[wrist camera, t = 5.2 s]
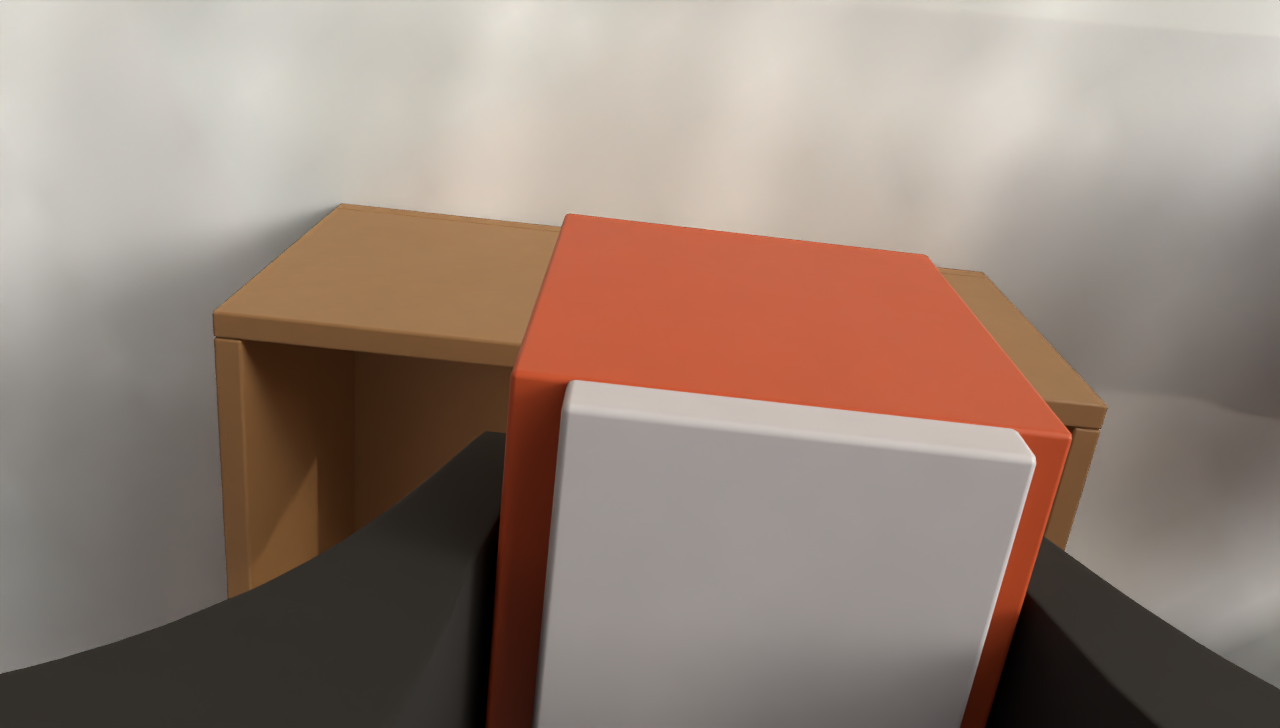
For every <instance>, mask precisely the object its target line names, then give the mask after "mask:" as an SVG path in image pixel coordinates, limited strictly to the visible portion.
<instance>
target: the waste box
mask: <svg viewBox="0 0 1280 728" xmlns="http://www.w3.org/2000/svg"><path fill="white" fill-rule="evenodd" d="M560 229H561V227H556V226H547V225H538V224H528V223H519V222H510V221H501V220H491V219H482V218H473V217H463V216H454V215H445V214H435V213H426V212H417V211H407V210H398V209H389V208H380V207H370V206H361V205H352V204H340V205H339V206H338V207H337V208H336V209H334V210H333V211H332V212H331V213H329V214H328V215H327V216H326V217H325V218H323V219H322V220H321V221H320V222H319V223H318V224H316V225H315V226H314V227H313V228H312V229H310V230H309V231H308V232H307V233H306V234H304V235H303V236H302V237H301V238H300V239H299V240H297V241H296V242H295V243H294V244H293V245H291V246H290V247H289V248H288V249H287V250H286V251H284V252H283V253H282V254H281V255H280V256H278V257H277V258H276V259H275V260H274V261H272V262H271V263H270V264H269V265H268V266H267V267H265V268H264V269H263V270H262V271H261V272H259V273H258V274H257V275H256V276H255V277H254V278H252V279H251V280H250V281H249V282H248V283H246V284H245V285H244V286H243V287H242V288H240V289H239V290H238V291H237V292H236V293H235V294H233V295H232V296H231V297H230V298H229V299H227V300H226V301H225V302H224V303H223V304H222V305H220V306H219V307H218V308H217V309H216V310H214V311H213V330H214V336H216V337H215V339H214V349H215V367H216V386H217V405H218V424H219V443H220V461H221V480H222V499H223V518H224V536H225V555H226V574H227V593H228V599H230V598H232V597H235V596H237V595H239V594H242V593H244V592H247V591H249V590H252V589H254V588H256V587H258V586H260V585H262V584H264V583H266V582H268V581H270V580H272V579H274V578H276V577H278V576H280V575H282V574H284V573H286V572H288V571H290V570H292V569H293V568H295V567H297V566H299V565H301V564H303V563H305V562H307V561H309V560H311V559H312V558H314V557H316V556H318V555H319V554H321V553H323V552H325V551H326V550H328V549H330V548H331V547H333V546H335V545H336V544H338V543H340V542H341V541H343V540H344V539H346V538H347V537H349V536H350V535H352V534H353V533H355V532H356V531H358V530H359V529H361V528H362V527H364V526H365V525H367V524H368V523H370V522H371V521H372V520H374V519H375V518H377V517H378V516H380V515H381V514H383V513H384V512H386V511H387V510H388V509H390V508H391V507H392V506H394V505H395V504H396V503H398V502H399V501H400V500H401V499H403V498H404V497H405V496H407V495H408V494H409V493H410V492H412V491H413V490H414V489H416V488H417V487H418V486H419V485H421V484H422V483H423V482H425V481H426V480H427V479H428V478H429V477H431V476H432V475H433V474H434V473H435V472H437V471H438V470H439V469H440V468H441V467H443V466H444V465H445V464H446V463H447V462H449V461H450V460H451V459H452V458H453V457H454V456H456V455H457V454H458V453H459V452H460V451H461V450H462V449H464V448H465V447H466V446H467V445H468V444H470V443H471V442H472V441H473V440H475V439H476V438H477V437H478V436H480V435H481V434H482V433H484V432H485V431H491V432H500V433H506V429H507V415H508V401H509V387H510V375H511V372H512V369H513V366H514V364H515V361H516V358H517V355H518V352H519V349H520V346H521V343H522V340H523V337H524V334H525V331H526V329H527V326H528V323H529V320H530V317H531V314H532V311H533V308H534V305H535V302H536V299H537V296H538V294H539V291H540V288H541V285H542V282H543V279H544V276H545V273H546V270H547V267H548V264H549V262H550V259H551V256H552V253H553V250H554V247H555V244H556V241H557V238H558V235H559V232H560ZM936 268H937V269H938V270H939V271H940V273H941V274H942V275H943V276H944V278H945V279H946V280H947V281H948V283H949V284H950V285H951V286H952V287H953V289H954V290H955V291H956V292H957V294H958V295H959V296H960V297H961V299H962V300H963V301H964V302H965V303H966V305H967V306H968V307H969V308H970V310H971V311H972V312H973V313H974V315H975V316H976V317H977V318H978V320H979V321H980V322H981V323H982V324H983V326H984V327H985V328H986V329H987V331H988V332H989V333H990V334H991V336H992V337H993V338H994V339H995V340H996V342H997V343H998V344H999V345H1000V347H1001V348H1002V349H1003V350H1004V352H1005V353H1006V354H1007V355H1008V356H1009V358H1010V359H1011V360H1012V361H1013V363H1014V364H1015V365H1016V366H1017V368H1018V369H1019V370H1020V371H1021V372H1022V374H1023V375H1024V376H1025V377H1026V379H1027V380H1028V381H1029V382H1030V384H1031V385H1032V386H1033V387H1034V388H1035V390H1036V391H1037V392H1038V393H1039V395H1040V396H1041V397H1042V398H1043V400H1044V401H1045V402H1046V403H1047V405H1048V406H1049V407H1050V408H1051V409H1052V411H1053V412H1054V413H1055V414H1056V416H1057V417H1058V418H1059V419H1060V421H1061V422H1062V423H1063V424H1064V425H1065V427H1066V428H1067V429H1068V430H1069V432H1070V433H1071V435H1072V442H1071V445H1070V448H1069V452H1068V455H1067V458H1066V462H1065V465H1064V468H1063V472H1062V475H1061V478H1060V481H1059V485H1058V488H1057V491H1056V495H1055V498H1054V501H1053V505H1052V508H1051V511H1050V515H1049V518H1048V521H1047V525H1046V528H1045V531H1044V535H1043V536H1045V537H1046V538H1047V539H1049V540H1050V541H1051V542H1053V543H1054V544H1055V545H1057V546H1058V547H1059V548H1061V549H1062V550H1063V551H1064V550H1065V547H1066V544H1067V540H1068V537H1069V534H1070V530H1071V527H1072V524H1073V521H1074V517H1075V514H1076V511H1077V507H1078V504H1079V501H1080V497H1081V494H1082V491H1083V487H1084V484H1085V481H1086V477H1087V474H1088V471H1089V467H1090V464H1091V461H1092V458H1093V454H1094V451H1095V448H1096V444H1097V441H1098V438H1099V434H1100V430H1099V429H1101V427H1102V424H1103V421H1104V418H1105V414H1106V411H1107V405H1106V404H1105V402H1104V401H1103V400H1102V399H1101V398H1100V397H1099V396H1098V395H1097V394H1096V393H1095V392H1094V391H1093V390H1092V389H1091V387H1090V386H1089V385H1088V384H1087V383H1086V382H1085V381H1084V380H1083V379H1082V378H1081V377H1080V376H1079V375H1078V374H1077V372H1076V371H1075V370H1074V369H1073V368H1072V367H1071V366H1070V365H1069V364H1068V363H1067V362H1066V361H1065V360H1064V359H1063V357H1062V356H1061V355H1060V354H1059V353H1058V352H1057V351H1056V350H1055V349H1054V348H1053V347H1052V346H1051V345H1050V344H1049V342H1048V341H1047V340H1046V339H1045V338H1044V337H1043V336H1042V335H1041V334H1040V333H1039V332H1038V331H1037V330H1036V328H1035V327H1034V326H1033V325H1032V324H1031V323H1030V322H1029V321H1028V320H1027V319H1026V318H1025V317H1024V316H1023V315H1022V313H1021V312H1020V311H1019V310H1018V309H1017V308H1016V307H1015V306H1014V305H1013V304H1012V303H1011V302H1010V301H1009V300H1008V298H1007V297H1006V296H1005V295H1004V294H1003V293H1002V292H1001V291H1000V290H999V289H998V288H997V287H996V286H995V285H994V283H993V282H992V281H991V280H990V279H988V277H987V276H986V275H985V274H984V273H983V272H975V271H966V270H957V269H947V268H938V267H936Z"/></svg>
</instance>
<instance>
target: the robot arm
mask: <svg viewBox="0 0 1280 728" xmlns="http://www.w3.org/2000/svg"><path fill="white" fill-rule="evenodd" d="M505 443H506V433H500V432H491V431H485V432H484V433H482V434H481V435H480V436H478V437H477V438H476V439H475V440H473V441H472V442H471V443H470V444H468V445H467V446H466V447H465V448H464V449H462V450H461V451H460V452H459V453H458V454H457V455H456V456H454V457H453V458H452V459H451V460H450V461H449V462H447V463H446V464H445V465H444V466H443V467H441V468H440V469H439V470H438V471H437V472H435V473H434V474H433V475H432V476H431V477H429V478H428V479H427V480H426V481H425V482H423V483H422V484H421V485H419V486H418V487H417V488H416V489H414V490H413V491H412V492H410V493H409V494H408V495H407V496H405V497H404V498H403V499H401V500H400V501H399V502H398V503H396V504H395V505H394V506H392V507H391V508H390V509H388V510H387V511H386V512H384V513H383V514H381V515H380V516H378V517H377V518H375V519H374V520H372V521H371V522H370V523H368V524H367V525H365V526H364V527H362V528H361V529H359V530H358V531H356V532H355V533H353V534H352V535H350V536H349V537H347V538H346V539H344V540H343V541H341V542H340V543H338V544H336V545H335V546H333V547H331V548H330V549H328V550H326V551H325V552H323V553H321V554H319V555H318V556H316V557H314V558H312V559H311V560H309V561H307V562H305V563H303V564H301V565H299V566H297V567H295V568H293V569H292V570H290V571H288V572H286V573H284V574H282V575H280V576H278V577H276V578H274V579H272V580H270V581H268V582H266V583H264V584H262V585H260V586H258V587H256V588H254V589H252V590H249V591H247V592H244V593H242V594H239V595H237V596H235V597H232V598H230V599H227V600H225V601H223V602H220V603H218V604H215V605H213V606H211V607H208V608H206V609H203V610H201V611H199V612H196V613H194V614H191V615H189V616H187V617H184V618H182V619H179V620H177V621H174V622H172V623H169V624H167V625H164V626H161V627H158V628H156V629H153V630H150V631H147V632H144V633H141V634H138V635H135V636H132V637H129V638H126V639H123V640H120V641H117V642H114V643H111V644H108V645H104V646H101V647H98V648H94V649H91V650H88V651H84V652H81V653H78V654H74V655H71V656H68V657H64V658H61V659H57V660H54V661H50V662H46V663H42V664H39V665H35V666H31V667H28V668H24V669H19V670H15V671H11V672H6V673H2V674H0V728H485V719H486V705H487V692H488V678H489V664H490V650H491V636H492V622H493V609H494V595H495V581H496V567H497V553H498V539H499V526H500V512H501V498H502V484H503V470H504V456H505ZM985 728H1280V689H1278V688H1276V687H1275V686H1273V685H1271V684H1269V683H1267V682H1266V681H1264V680H1262V679H1260V678H1258V677H1257V676H1255V675H1253V674H1251V673H1249V672H1248V671H1246V670H1244V669H1242V668H1240V667H1239V666H1237V665H1235V664H1233V663H1232V662H1230V661H1228V660H1226V659H1224V658H1223V657H1221V656H1219V655H1218V654H1216V653H1215V652H1213V651H1211V650H1210V649H1208V648H1206V647H1205V646H1203V645H1201V644H1200V643H1198V642H1196V641H1195V640H1193V639H1192V638H1190V637H1188V636H1187V635H1185V634H1184V633H1182V632H1181V631H1179V630H1178V629H1176V628H1175V627H1173V626H1172V625H1170V624H1168V623H1167V622H1165V621H1164V620H1162V619H1161V618H1159V617H1158V616H1156V615H1155V614H1153V613H1152V612H1150V611H1149V610H1147V609H1145V608H1144V607H1142V606H1141V605H1139V604H1138V603H1136V602H1135V601H1134V600H1132V599H1131V598H1129V597H1128V596H1126V595H1125V594H1123V593H1122V592H1121V591H1119V590H1118V589H1116V588H1115V587H1113V586H1112V585H1110V584H1109V583H1108V582H1106V581H1105V580H1103V579H1102V578H1101V577H1099V576H1098V575H1096V574H1095V573H1094V572H1092V571H1091V570H1089V569H1088V568H1087V567H1085V566H1084V565H1083V564H1081V563H1080V562H1078V561H1077V560H1076V559H1074V558H1073V557H1072V556H1070V555H1069V554H1068V553H1066V552H1065V551H1063V550H1062V549H1061V548H1059V547H1058V546H1057V545H1055V544H1054V543H1053V542H1051V541H1050V540H1049V539H1047V538H1046V537H1045V536H1043V538H1042V541H1041V545H1040V548H1039V551H1038V555H1037V558H1036V561H1035V564H1034V568H1033V571H1032V574H1031V578H1030V581H1029V584H1028V588H1027V591H1026V594H1025V598H1024V601H1023V604H1022V608H1021V611H1020V614H1019V618H1018V621H1017V624H1016V628H1015V631H1014V634H1013V638H1012V641H1011V644H1010V648H1009V651H1008V654H1007V657H1006V661H1005V664H1004V667H1003V671H1002V674H1001V677H1000V681H999V684H998V687H997V691H996V694H995V697H994V701H993V704H992V707H991V711H990V714H989V717H988V721H987V724H986V727H985Z"/></svg>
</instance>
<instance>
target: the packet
mask: <svg viewBox="0 0 1280 728" xmlns="http://www.w3.org/2000/svg"><path fill="white" fill-rule="evenodd" d="M1071 442H1072V435H1071V433H1070V432H1069V430H1068V429H1067V428H1066V427H1065V425H1064V424H1063V423H1062V422H1061V421H1060V419H1059V418H1058V417H1057V416H1056V414H1055V413H1054V412H1053V411H1052V409H1051V408H1050V407H1049V406H1048V405H1047V403H1046V402H1045V401H1044V400H1043V398H1042V397H1041V396H1040V395H1039V393H1038V392H1037V391H1036V390H1035V388H1034V387H1033V386H1032V385H1031V384H1030V382H1029V381H1028V380H1027V379H1026V377H1025V376H1024V375H1023V374H1022V372H1021V371H1020V370H1019V369H1018V368H1017V366H1016V365H1015V364H1014V363H1013V361H1012V360H1011V359H1010V358H1009V356H1008V355H1007V354H1006V353H1005V352H1004V350H1003V349H1002V348H1001V347H1000V345H999V344H998V343H997V342H996V340H995V339H994V338H993V337H992V336H991V334H990V333H989V332H988V331H987V329H986V328H985V327H984V326H983V324H982V323H981V322H980V321H979V320H978V318H977V317H976V316H975V315H974V313H973V312H972V311H971V310H970V308H969V307H968V306H967V305H966V303H965V302H964V301H963V300H962V299H961V297H960V296H959V295H958V294H957V292H956V291H955V290H954V289H953V287H952V286H951V285H950V284H949V283H948V281H947V280H946V279H945V278H944V276H943V275H942V274H941V273H940V271H939V270H938V269H937V268H936V267H935V265H934V264H933V263H932V262H931V260H930V259H929V258H928V257H927V256H926V255H922V254H913V253H904V252H896V251H887V250H878V249H870V248H861V247H853V246H844V245H835V244H827V243H818V242H810V241H801V240H792V239H784V238H775V237H766V236H758V235H749V234H741V233H732V232H723V231H715V230H706V229H697V228H689V227H680V226H672V225H663V224H654V223H646V222H637V221H628V220H620V219H611V218H603V217H594V216H585V215H577V214H567V215H566V216H565V218H564V221H563V224H562V227H561V229H560V232H559V235H558V238H557V241H556V244H555V247H554V250H553V253H552V256H551V259H550V262H549V264H548V267H547V270H546V273H545V276H544V279H543V282H542V285H541V288H540V291H539V294H538V296H537V299H536V302H535V305H534V308H533V311H532V314H531V317H530V320H529V323H528V326H527V329H526V331H525V334H524V337H523V340H522V343H521V346H520V349H519V352H518V355H517V358H516V361H515V364H514V366H513V369H512V372H511V375H510V387H509V401H508V415H507V429H506V443H505V456H504V470H503V484H502V498H501V512H500V526H499V539H498V553H497V567H496V581H495V595H494V609H493V622H492V636H491V650H490V664H489V678H488V692H487V705H486V719H485V728H985V727H986V724H987V721H988V717H989V714H990V711H991V707H992V704H993V701H994V697H995V694H996V691H997V687H998V684H999V681H1000V677H1001V674H1002V671H1003V667H1004V664H1005V661H1006V657H1007V654H1008V651H1009V648H1010V644H1011V641H1012V638H1013V634H1014V631H1015V628H1016V624H1017V621H1018V618H1019V614H1020V611H1021V608H1022V604H1023V601H1024V598H1025V594H1026V591H1027V588H1028V584H1029V581H1030V578H1031V574H1032V571H1033V568H1034V564H1035V561H1036V558H1037V555H1038V551H1039V548H1040V545H1041V541H1042V538H1043V535H1044V531H1045V528H1046V525H1047V521H1048V518H1049V515H1050V511H1051V508H1052V505H1053V501H1054V498H1055V495H1056V491H1057V488H1058V485H1059V481H1060V478H1061V475H1062V472H1063V468H1064V465H1065V462H1066V458H1067V455H1068V452H1069V448H1070V445H1071Z"/></svg>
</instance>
